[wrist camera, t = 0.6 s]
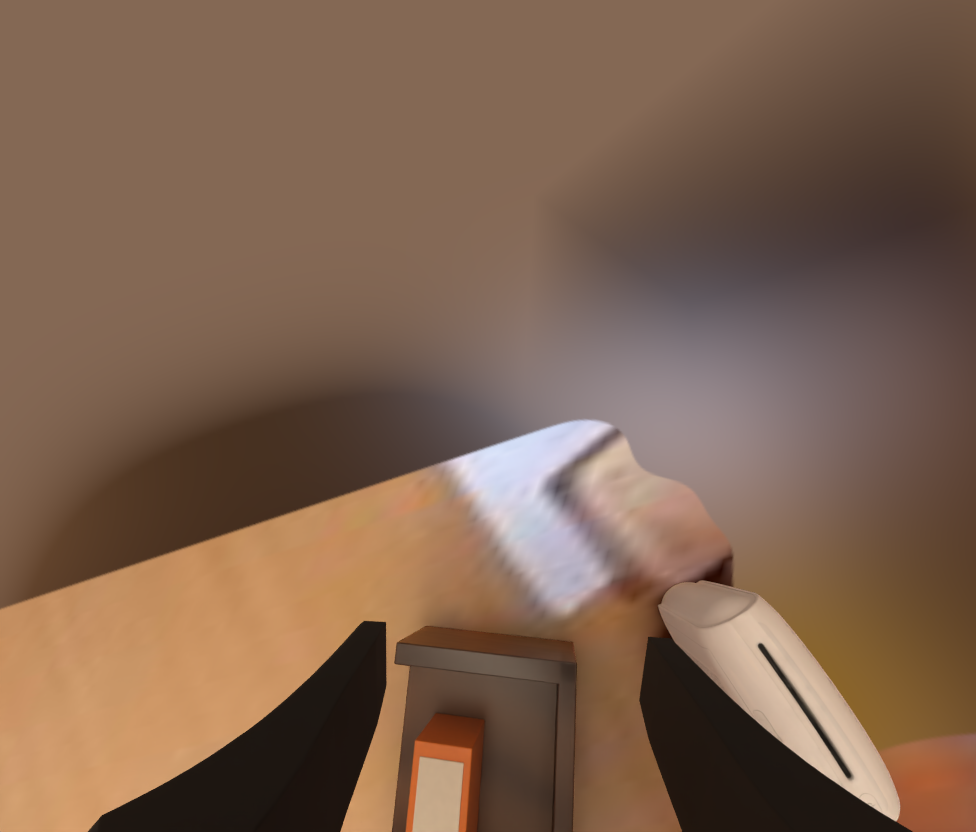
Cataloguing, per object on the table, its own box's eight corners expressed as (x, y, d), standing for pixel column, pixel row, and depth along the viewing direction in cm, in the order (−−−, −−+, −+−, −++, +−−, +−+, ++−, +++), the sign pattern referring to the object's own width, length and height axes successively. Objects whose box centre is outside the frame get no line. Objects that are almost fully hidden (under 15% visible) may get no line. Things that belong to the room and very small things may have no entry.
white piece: (799, 720, 30) (958, 831, 18) (740, 754, 30) (861, 888, 18) (699, 569, 33) (778, 580, 21) (646, 600, 33) (695, 628, 21)
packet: (475, 854, 28) (459, 912, 23) (423, 844, 28) (397, 899, 24) (484, 719, 30) (472, 749, 25) (435, 712, 30) (414, 740, 26)
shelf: (566, 908, 29) (568, 1006, 23) (399, 876, 31) (359, 959, 24) (573, 641, 33) (577, 663, 27) (425, 625, 34) (396, 642, 28)
